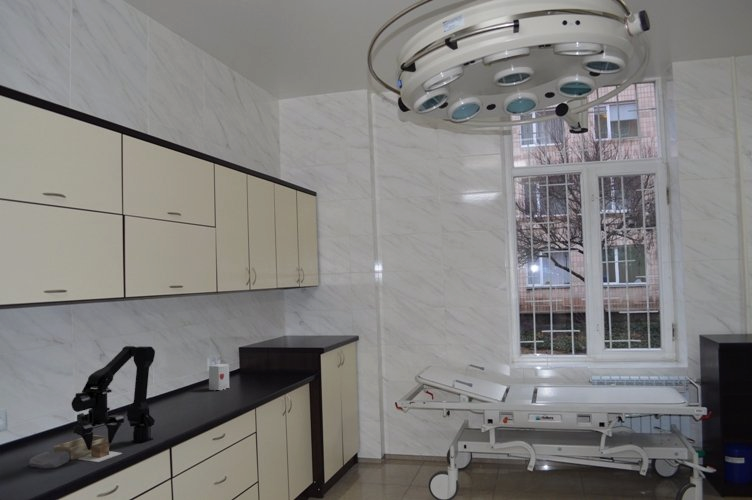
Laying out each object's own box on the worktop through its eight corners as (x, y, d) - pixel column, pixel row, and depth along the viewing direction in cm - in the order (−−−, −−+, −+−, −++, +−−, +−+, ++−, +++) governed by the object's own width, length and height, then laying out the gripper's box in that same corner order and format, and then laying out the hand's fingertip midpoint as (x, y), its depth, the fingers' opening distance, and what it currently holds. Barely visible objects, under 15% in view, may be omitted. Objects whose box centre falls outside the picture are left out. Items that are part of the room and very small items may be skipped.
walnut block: (100, 453, 225) (100, 443, 225) (109, 454, 223) (109, 444, 223) (91, 456, 222) (91, 446, 222) (100, 457, 219) (100, 447, 220)
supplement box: (218, 391, 348) (218, 366, 349) (208, 390, 353) (208, 365, 354) (230, 388, 356) (229, 364, 357) (220, 387, 361) (219, 363, 362)
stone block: (55, 473, 210) (72, 459, 220) (53, 461, 209) (70, 447, 219) (25, 474, 211) (44, 460, 221) (23, 462, 210) (41, 449, 220)
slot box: (92, 445, 238) (92, 434, 238) (109, 447, 234) (109, 436, 234) (54, 458, 223) (53, 446, 223) (71, 460, 218) (71, 448, 218)
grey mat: (102, 451, 230) (102, 450, 230) (122, 453, 225) (122, 452, 225) (77, 459, 220) (77, 458, 220) (97, 462, 215) (97, 461, 215)
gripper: (105, 399, 235) (105, 438, 234) (63, 410, 218) (63, 451, 217) (124, 401, 230) (125, 440, 229) (83, 412, 213) (84, 454, 213)
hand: (99, 446), depth 222 cm, fingers open, 9 cm apart
